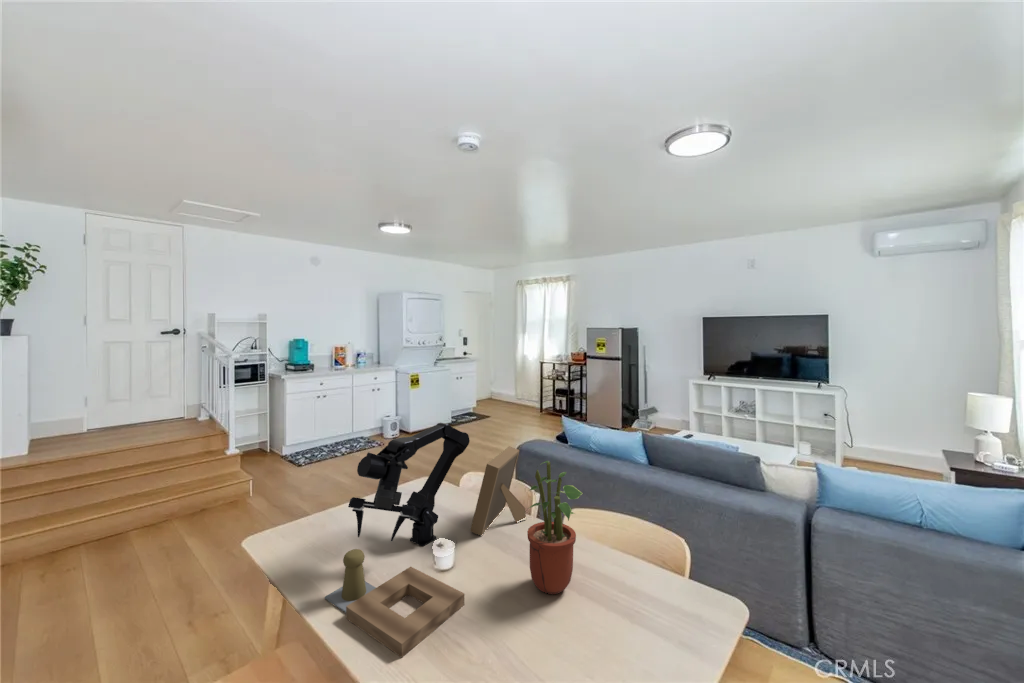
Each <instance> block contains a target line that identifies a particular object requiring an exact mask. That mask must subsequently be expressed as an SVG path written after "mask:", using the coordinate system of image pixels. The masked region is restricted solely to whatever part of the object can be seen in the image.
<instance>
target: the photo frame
mask: <svg viewBox="0 0 1024 683" xmlns="http://www.w3.org/2000/svg"><path fill="white" fill-rule="evenodd" d="M519 454H520V449H519V448H515V447H512V446H509V445H508V447H506V448H505V449H504V450H502V451H501V452H500V453H499V454H497V455H496V456H495V457H494V458H492V459H491V460H490V461H489V462H487V463H486V466H485V470H484V474H483V478H482V481H481V486H480V490H479V492H478V493H479V494H478V498H477V502H476V505H475V508H474V509H475V510H474V514H473V518H472V522H471V526H470V532H471V533H473V534H475V535H477V534H479V535H482V534H483V533H484V532H485V530H486V529H487V528H488V527H489V525H490V524H491V523H492V522H493V520H494V519H495V518H496V517H497V516H498V515H499V513H500V512H501V511H502V510H503V508H504V507H505V508H506V504H507V507H508V508H509V511H510V513H511V516H512V518H513V519H514V522H515V523H516V522H517V521H519V520H521V519H523V518H525V517H526V518H527V515H526V514H527V513H526V512H525V511H526V507H525V506H524V505H523V504H522V503H521V501H520V500H518V498H517V497H516V496H515V495H514V494H513V493H512V491H510V488H511V486H512V482H513V477H514V475H515V474H514V473H515V470H516V466H517V462H518V458H519ZM499 516H500V515H499ZM499 516H498V517H499ZM493 523H494V522H493ZM489 528H490V527H489ZM489 528H488V529H489ZM488 529H487V530H488ZM485 533H486V532H485ZM485 533H484V534H485ZM484 534H483V535H484ZM479 535H478V536H479ZM483 535H482V536H483Z"/></svg>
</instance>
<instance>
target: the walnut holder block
mask: <svg viewBox="0 0 1024 683" xmlns="http://www.w3.org/2000/svg"><path fill="white" fill-rule="evenodd" d="M408 596H409V597H412V598H413V599H415V600H417V601H419V602H421V603H422V605H420V606H419V607H418V608H417V609H414V611H412V612H411V613H410V614H408V615H407V616H406V617H404V616H403V615H401V614H399V613H398V612H396V611H394V610H392V609H391V608H392V607H393V606H395V605H396V604H398V603H399V602H401V601H402V600H403V599H405V598H406V597H408ZM464 606H465V592H462V591H461V590H459V589H456V588H454V587H452V586H450V585H448V584H446V583H444V582H442V581H440V580H439V579H437V578H435V577H433V576H431V575H430V574H429V575H428V574H426V573H425V572H424V571H421V570H419V569H417V568H414V567H413V566H409V567H408V568H406V569H404V570H402V571H401V572H399V573H398V574H396V575H394V576H393V577H391V578H389V579H388V580H386V581H385V582H384V583H382V584H380V585H378V586H377V587H376V588H375V589H373V590H372V591H370V592H369V593H367V594H365V595H364V596H362V597H361V598H359V599H357V600H356V601H354V602H353V603H351V604H349V605H348V606H346V613H345V616H346V618H345V620H348V622H350V623H352V624H353V625H355V626H356V627H357V628H359V629H360V630H362V631H363V632H364V633H366V634H367V635H369V636H370V637H372V638H373V639H374V640H376V641H377V642H379V643H380V644H381V645H383V646H384V647H386V648H387V649H389V650H390V651H392V652H393V653H395V654H396V655H397V656H399V657H400V658H404V657H405V656H406V655H407V654H408V653H409V652H411V651H412V650H413V649H415V647H417V646H418V645H419V644H420V643H421V642H423V641H424V640H425V639H426V638H427V637H429V636H430V635H431V634H432V633H433V632H434V631H435V630H437V629H438V628H439V627H440V626H441V625H443V624H444V623H445V622H446V621H447V620H448V619H449V618H451V617H452V616H453V615H455V614H456V613H457V612H458V611H459V610H461V607H463V608H464Z"/></svg>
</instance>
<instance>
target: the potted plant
mask: <svg viewBox="0 0 1024 683" xmlns="http://www.w3.org/2000/svg"><path fill="white" fill-rule="evenodd" d="M542 464H546V476H543V477H541V474H540V471H539V469H538V468H537V467H539V465H537V467H536V468H537V469H536V470H535V474H534V475H535V479H536V482H537V485H532V486H531V487H530V489H529V492H530V491H533V490H537V489H538V490H539V495H540V500H541V502H535V503H534V504H532V505H530V506H529V507H528V508H527V510H526V509H525V512H526V511H528V509H529V510H530V508H533V507H537V506H541V509H542V514H543V521H541V522H537V523H534V524H532V525H531V526H529V528H528V529H527V540H528V542H529V571H530V577H531V580H532V582H533V584H534V585H535V587H536V588H537V589H538V590H540V591H541V592H543V593H544V592H545V594H547V593H548V595H557V594H559V593H562V592H563V591H565V590H566V589H567V587H568V586H569V584H571V580H572V575H573V570H574V569H573V568H574V544H575V543H576V540H577V539H576V538H577V534H576V531H575V530H574V529H573V527H571V526H570V525H567V524H565V523H563V515H564V516H565V517H566V518H567V522H569V521H570V518H571V515H576V513H574V512H573V511H572V508H571V507H570V504H569V503H568V502H561V493H563V494H565V496H566V498H568V500H576V499H577V500H578V499H579V498H580V497H581V496H582V495H583V494H584V493H583V492H582V491H580V490H579V489H578V488H577V487H575V486H574V485H573V484H572V485H571V484H568V485H567V484H564V486H563V487H561V486H562V483H563V482H562V481H563V480H562V478H563V477H564V478H565V476H566V474H567V471H563V472H561V473H560V474H558V476H557V477H558V479H552V466H551V465H552V464H551V461H550V460H546V461H544V462H541V463H540V465H542ZM543 482H545V483H546V484H547V485H546V490H547V496H545V495H546V494H545V491H544V485H543ZM552 483H557V486H556V492H553V491H552ZM561 488H562V489H563V491H562V490H561ZM552 494H555V496H554V497H553V498H554V500H553V501H554V511H552ZM546 497H547V501H546ZM562 514H563V515H562ZM552 520H553V521H552ZM556 593H557V594H556Z"/></svg>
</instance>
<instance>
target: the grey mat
mask: <svg viewBox="0 0 1024 683" xmlns="http://www.w3.org/2000/svg"><path fill="white" fill-rule="evenodd" d="M365 585H366V593H365V594H367V593H369V592H370V591H372V590H373V589H375V588H377V587H376V586H374V585H372V584H371V583H369V582H368V581H366V580H365ZM342 589H343V586H341V587H339V588H338V589H336V590H334V591H332V592H330V593H329V594H326V596H324V597H323V598H325V599H324V600H326V599H327V600H328V601H327V600H326V601H327V602H328V603H330V602H331V603H332V605H333V604H334V605H335V606H334V605H333V606H334V607H336V608H337V607H338V608H337V609H339V610H340V609H341V610H340V611H342V612H343V611H344V612H345V614H346V606H348V605H349V604H351V603H353V602H354V601H346V600H343V599H342ZM355 601H356V600H355ZM331 603H330V604H331ZM344 612H343V613H344Z"/></svg>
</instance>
